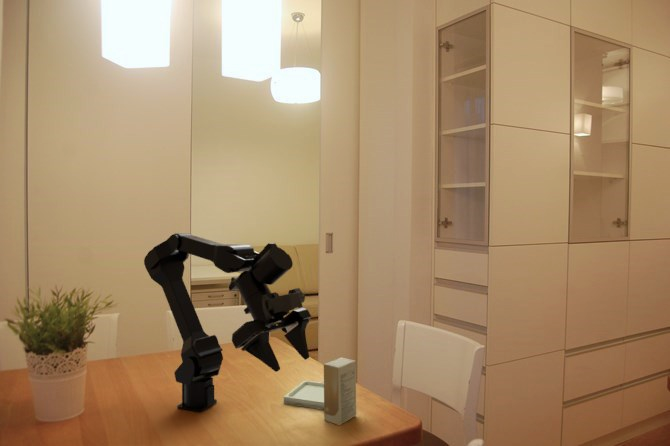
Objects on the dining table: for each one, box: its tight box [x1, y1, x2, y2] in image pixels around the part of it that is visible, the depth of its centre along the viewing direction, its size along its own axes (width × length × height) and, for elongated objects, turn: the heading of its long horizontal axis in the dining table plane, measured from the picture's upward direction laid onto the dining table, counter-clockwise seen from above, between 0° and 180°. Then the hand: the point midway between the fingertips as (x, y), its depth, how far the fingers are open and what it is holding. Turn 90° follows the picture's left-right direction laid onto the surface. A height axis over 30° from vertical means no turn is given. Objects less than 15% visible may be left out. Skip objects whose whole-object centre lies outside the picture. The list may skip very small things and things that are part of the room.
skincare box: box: [323, 357, 357, 426], centre depth 100 cm, size 6×4×12 cm
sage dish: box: [283, 379, 324, 411], centre depth 111 cm, size 12×12×2 cm
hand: (293, 364), depth 91 cm, fingers open, 9 cm apart
